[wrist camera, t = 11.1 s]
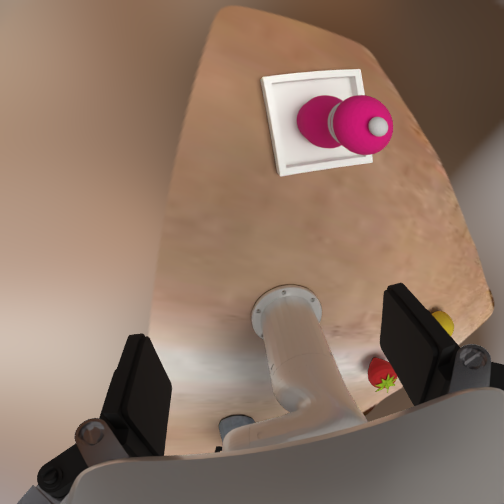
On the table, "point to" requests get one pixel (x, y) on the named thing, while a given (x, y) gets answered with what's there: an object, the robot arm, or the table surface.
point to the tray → (285, 118)
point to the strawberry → (381, 374)
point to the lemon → (444, 321)
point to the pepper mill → (346, 123)
